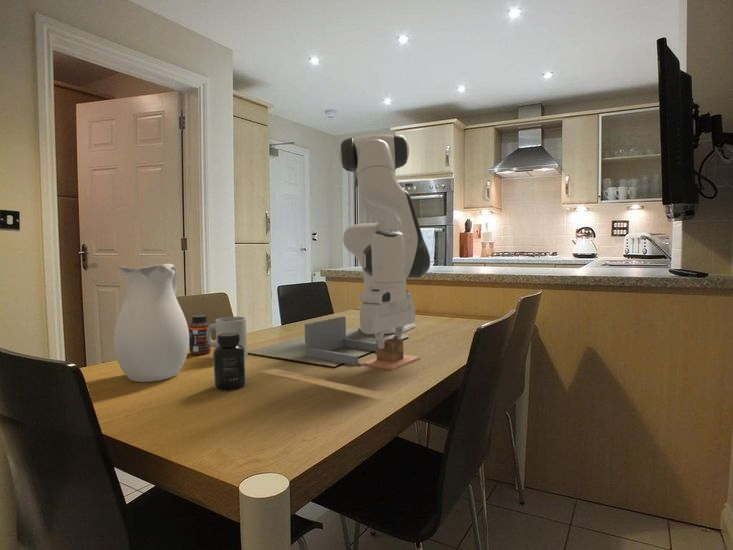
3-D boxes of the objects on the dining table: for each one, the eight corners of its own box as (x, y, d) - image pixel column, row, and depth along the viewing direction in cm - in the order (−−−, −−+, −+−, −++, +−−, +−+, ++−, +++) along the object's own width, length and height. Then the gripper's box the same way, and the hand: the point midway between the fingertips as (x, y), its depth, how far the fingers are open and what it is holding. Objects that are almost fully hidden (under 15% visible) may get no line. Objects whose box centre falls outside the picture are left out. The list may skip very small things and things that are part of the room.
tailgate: (363, 362, 121) (392, 367, 115) (392, 352, 131) (420, 356, 126) (363, 366, 121) (392, 371, 115) (392, 356, 131) (420, 360, 126)
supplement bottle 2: (251, 383, 111) (250, 332, 110) (234, 392, 104) (232, 338, 103) (227, 380, 113) (225, 330, 112) (208, 389, 106) (206, 336, 106)
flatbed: (305, 359, 132) (304, 324, 131) (343, 349, 144) (342, 316, 144) (360, 370, 120) (359, 331, 119) (396, 357, 132) (395, 322, 132)
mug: (252, 353, 140) (251, 316, 139) (238, 361, 132) (236, 321, 131) (215, 352, 143) (214, 316, 142) (199, 359, 134) (198, 320, 134)
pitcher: (173, 385, 109) (168, 265, 107) (101, 386, 110) (94, 266, 108) (209, 360, 133) (205, 260, 131) (150, 360, 134) (145, 261, 132)
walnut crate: (388, 356, 127) (387, 337, 127) (403, 358, 124) (403, 339, 124) (376, 359, 124) (376, 340, 123) (392, 362, 120) (392, 343, 120)
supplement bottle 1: (198, 356, 138) (197, 317, 137) (185, 354, 141) (183, 316, 140) (215, 352, 143) (213, 314, 142) (202, 350, 146) (200, 313, 145)
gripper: (401, 288, 133) (401, 337, 134) (355, 295, 117) (356, 351, 118) (420, 289, 129) (421, 340, 130) (375, 297, 113) (376, 354, 114)
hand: (389, 345), depth 124 cm, fingers open, 5 cm apart
